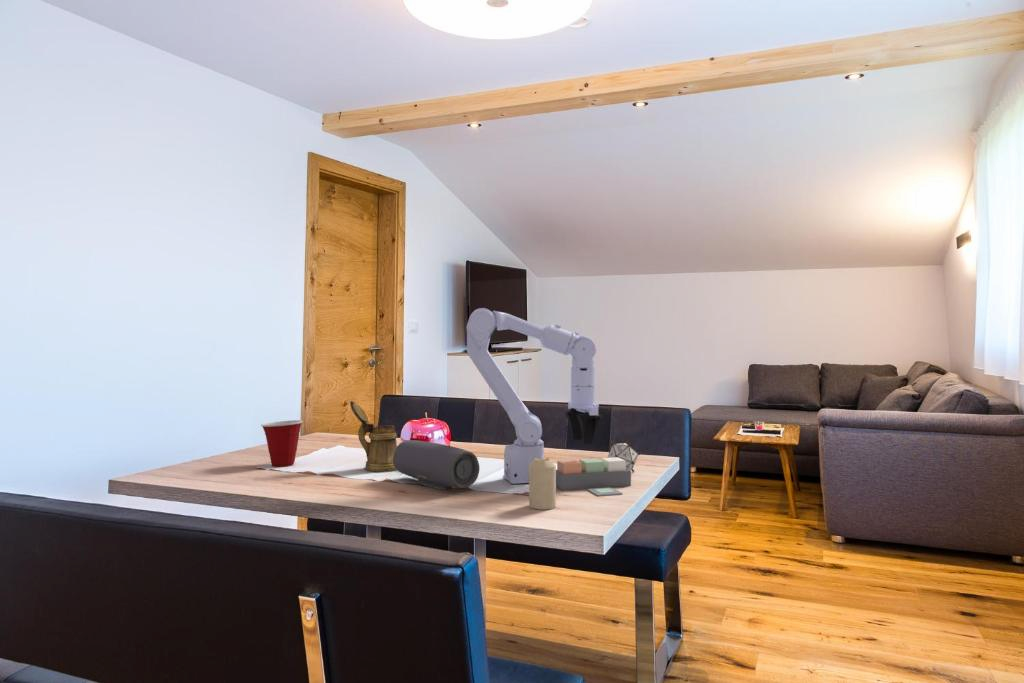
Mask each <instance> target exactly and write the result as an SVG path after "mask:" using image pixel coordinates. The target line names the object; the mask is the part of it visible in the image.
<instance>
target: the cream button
mask: <svg viewBox="0 0 1024 683" xmlns="http://www.w3.org/2000/svg"><path fill="white" fill-rule="evenodd" d="M600 460H601V461H603V462H604V470H606V471H608V472H610V471H626V460H623V459H621V458H618V457H613V458H607V457H602V458H600Z"/></svg>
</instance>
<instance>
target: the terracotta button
mask: <svg viewBox="0 0 1024 683" xmlns="http://www.w3.org/2000/svg"><path fill="white" fill-rule="evenodd" d="M556 462H557V463H556V464H557V465H556V470H557V471H558V472H560V473H561V474H577V473H582V463H580V462H579V461H578V460H576V459H564V460H557V461H556Z"/></svg>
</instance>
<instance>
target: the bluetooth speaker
mask: <svg viewBox="0 0 1024 683" xmlns="http://www.w3.org/2000/svg"><path fill="white" fill-rule="evenodd" d="M393 464H394V466H395V468H396V469H397V470H396V471H397V472H399V473H401V474H403V475H405V476H408V477H410V478H412V479H416V480H418V481H417V482H418V484H420V485H423V486H427V487H431V488H434V489H439V490H449V489H452V488H455V489H456V488H458V489H466V488H469V487H471V486H472V485H474V483H475V482H476V481H477V479H478V477H479V475H480V474H479V473H480V463H479V460H478V457H477V456H476V454H474V453H473V452H472V451H470V450H467V449H463V448H459V447H456V446H451V445H447V444H442V443H437V442H431V441H423V440H415V439H414V440H413V439H412V440H411V439H410V440H409V439H408V440H407V439H406V440H404V441H401V442H400V443H399V444H397V448H396V450H395V452H394V456H393Z"/></svg>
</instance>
